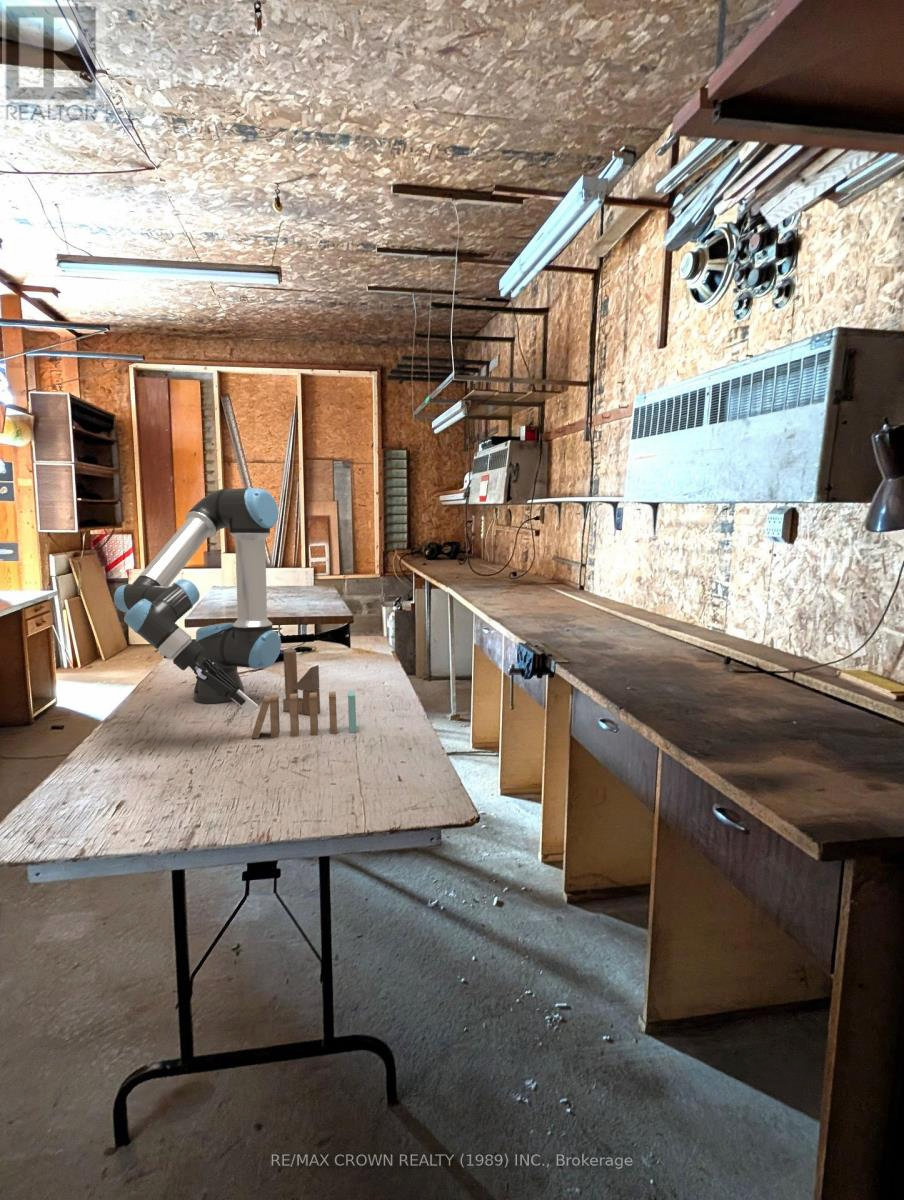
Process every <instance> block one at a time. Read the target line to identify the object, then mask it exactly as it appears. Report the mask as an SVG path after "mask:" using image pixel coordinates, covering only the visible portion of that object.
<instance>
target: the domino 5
mask: <svg viewBox="0 0 904 1200" xmlns="http://www.w3.org/2000/svg"><path fill="white" fill-rule="evenodd" d="M328 708H329V709H328V711H329V713H328V714H329V734H330V735H335V734H338V717H337V715H338V714H337V692H336V691H328Z"/></svg>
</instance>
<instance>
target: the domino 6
mask: <svg viewBox="0 0 904 1200" xmlns="http://www.w3.org/2000/svg"><path fill="white" fill-rule="evenodd" d="M356 703H357V702H356V692H355V690H354V689H353V690H352V689H351V690H347V706H348V730H349V733H357V714H356V713H357V712H356V708H357V707H356Z"/></svg>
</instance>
